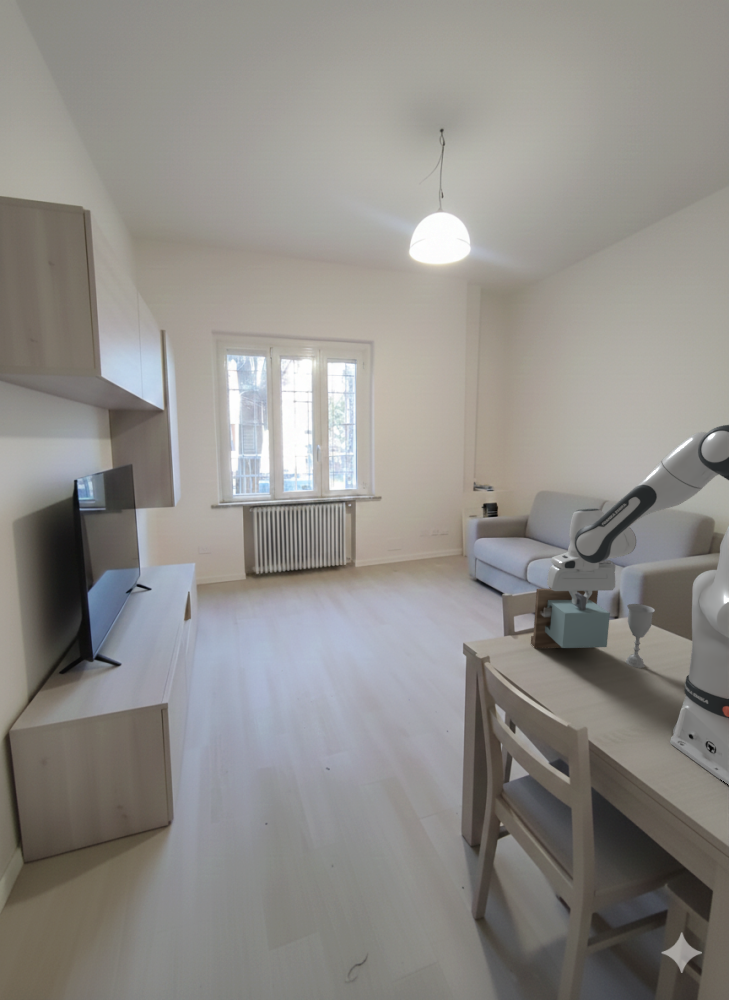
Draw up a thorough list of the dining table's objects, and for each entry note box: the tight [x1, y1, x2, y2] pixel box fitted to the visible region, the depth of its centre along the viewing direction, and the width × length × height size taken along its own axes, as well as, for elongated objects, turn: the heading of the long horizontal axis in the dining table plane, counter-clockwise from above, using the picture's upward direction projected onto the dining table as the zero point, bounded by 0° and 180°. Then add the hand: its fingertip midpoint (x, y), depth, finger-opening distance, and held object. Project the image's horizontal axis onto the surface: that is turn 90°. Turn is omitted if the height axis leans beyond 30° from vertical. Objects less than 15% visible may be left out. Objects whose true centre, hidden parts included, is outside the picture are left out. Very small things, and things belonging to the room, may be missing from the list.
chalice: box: [625, 603, 656, 669], centre depth 136 cm, size 7×7×18 cm
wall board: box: [530, 588, 599, 649], centre depth 146 cm, size 6×20×20 cm, turn 94°
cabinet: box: [545, 592, 611, 649], centre depth 140 cm, size 11×14×15 cm
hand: (579, 603), depth 138 cm, fingers closed on cabinet
